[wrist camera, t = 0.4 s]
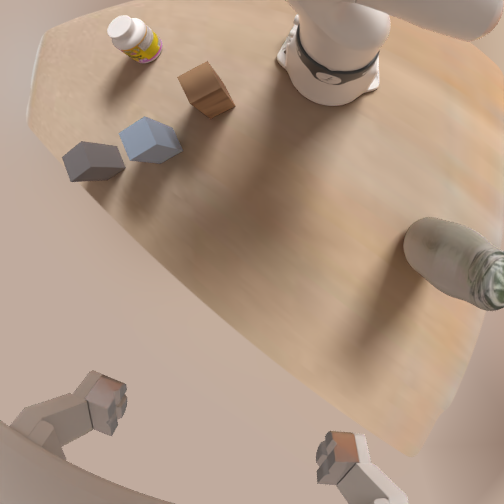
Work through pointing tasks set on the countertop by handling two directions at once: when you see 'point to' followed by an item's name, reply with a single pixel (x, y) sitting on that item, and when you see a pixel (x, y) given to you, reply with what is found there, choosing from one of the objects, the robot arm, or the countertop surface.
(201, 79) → the walnut block
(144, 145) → the slate-blue block
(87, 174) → the charcoal block
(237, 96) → the countertop surface
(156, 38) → the supplement bottle
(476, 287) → the grey-green tall rounded cylinder
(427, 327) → the countertop surface
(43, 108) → the countertop surface
